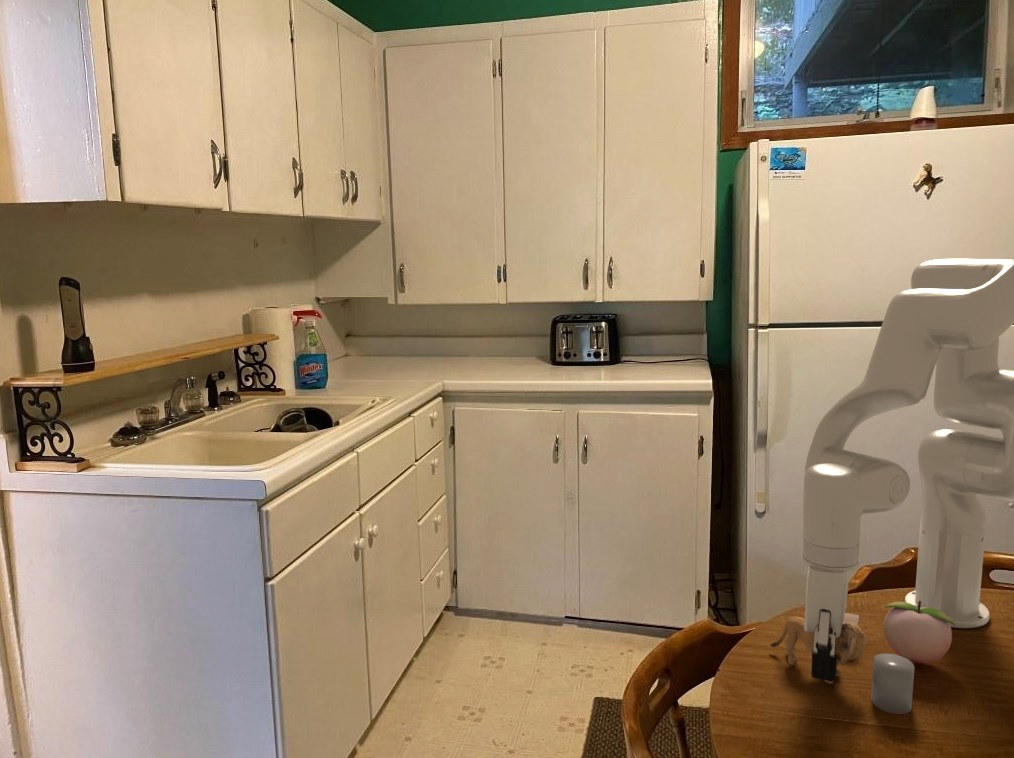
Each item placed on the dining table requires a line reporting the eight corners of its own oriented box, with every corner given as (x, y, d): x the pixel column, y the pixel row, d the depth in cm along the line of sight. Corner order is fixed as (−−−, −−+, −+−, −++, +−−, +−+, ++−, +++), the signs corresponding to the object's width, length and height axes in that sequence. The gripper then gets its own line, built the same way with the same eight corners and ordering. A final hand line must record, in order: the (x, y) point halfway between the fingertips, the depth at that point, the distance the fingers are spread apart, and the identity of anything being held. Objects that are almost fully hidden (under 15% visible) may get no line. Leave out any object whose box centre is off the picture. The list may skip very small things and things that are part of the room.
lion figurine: (871, 681, 111) (874, 623, 109) (853, 695, 108) (856, 636, 106) (778, 643, 122) (780, 589, 121) (759, 655, 119) (761, 600, 117)
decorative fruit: (881, 671, 114) (885, 608, 113) (880, 645, 122) (884, 585, 120) (954, 685, 110) (959, 619, 109) (949, 657, 118) (953, 595, 116)
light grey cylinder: (871, 689, 110) (874, 650, 109) (911, 698, 108) (914, 658, 107) (870, 708, 105) (873, 668, 104) (911, 717, 103) (914, 676, 102)
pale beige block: (831, 633, 126) (832, 610, 125) (857, 638, 124) (859, 615, 123) (828, 647, 122) (829, 624, 121) (856, 653, 120) (857, 629, 119)
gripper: (808, 526, 119) (804, 634, 122) (794, 570, 104) (791, 692, 107) (861, 533, 116) (856, 643, 119) (855, 579, 101) (850, 704, 104)
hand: (825, 665), depth 113 cm, fingers closed on lion figurine, 6 cm apart
